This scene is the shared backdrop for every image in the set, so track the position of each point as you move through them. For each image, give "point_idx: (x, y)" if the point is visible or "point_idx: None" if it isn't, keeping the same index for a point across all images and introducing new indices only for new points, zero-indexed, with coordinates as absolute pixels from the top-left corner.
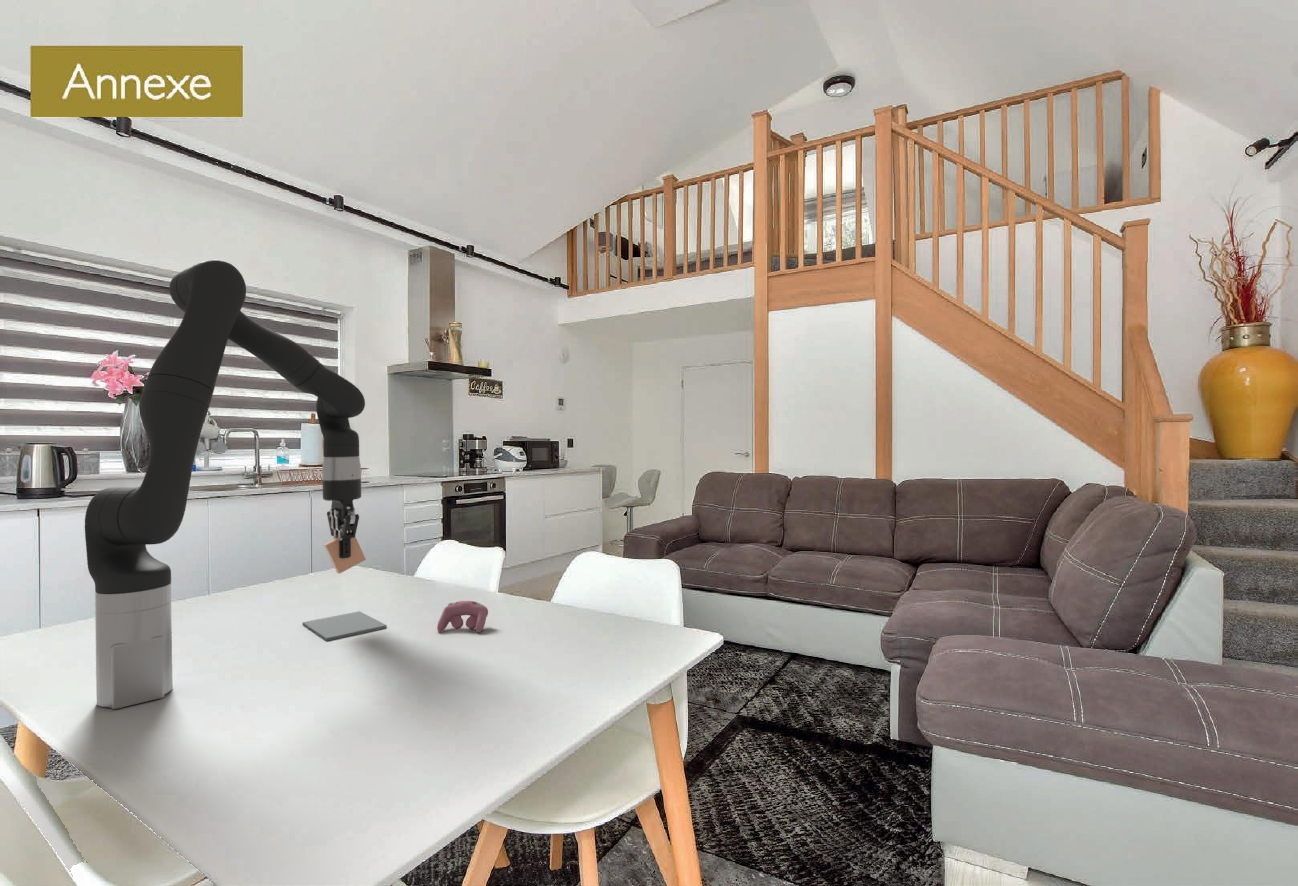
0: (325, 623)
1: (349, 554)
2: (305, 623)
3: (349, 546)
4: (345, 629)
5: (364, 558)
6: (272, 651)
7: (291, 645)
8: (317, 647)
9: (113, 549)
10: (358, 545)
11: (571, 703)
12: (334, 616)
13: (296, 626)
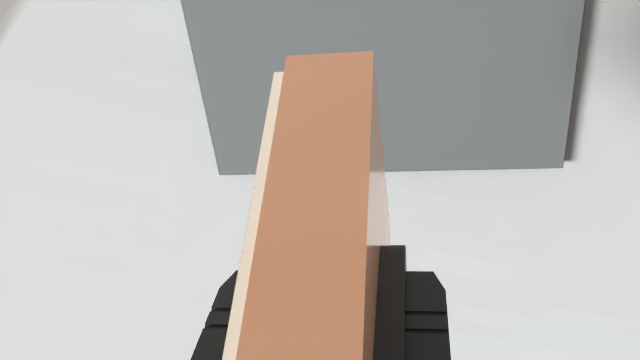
0: None
1: (435, 279)
2: (247, 171)
3: (446, 354)
4: (492, 71)
5: (371, 72)
6: (517, 309)
7: (497, 257)
8: (615, 204)
9: None
10: (366, 231)
11: None
12: (198, 47)
13: (226, 188)
